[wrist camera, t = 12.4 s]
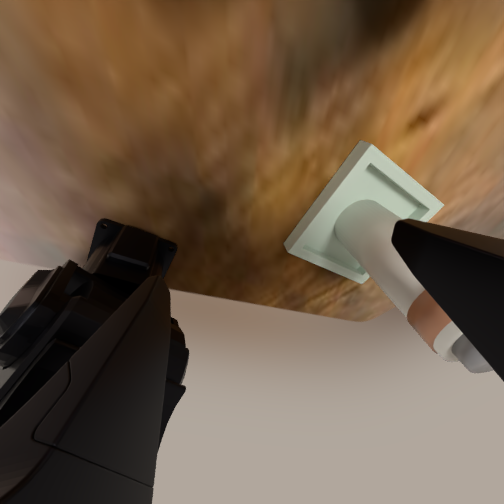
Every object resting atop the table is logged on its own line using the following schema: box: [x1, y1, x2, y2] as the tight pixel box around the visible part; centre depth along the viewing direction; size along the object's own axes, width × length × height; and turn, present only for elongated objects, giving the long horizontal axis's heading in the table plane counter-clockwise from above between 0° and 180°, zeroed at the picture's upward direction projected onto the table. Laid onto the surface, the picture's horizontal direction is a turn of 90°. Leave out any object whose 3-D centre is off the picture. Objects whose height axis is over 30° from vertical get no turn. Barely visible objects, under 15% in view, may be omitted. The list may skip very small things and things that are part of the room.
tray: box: [283, 140, 444, 284], centre depth 23 cm, size 11×11×2 cm
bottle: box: [334, 199, 493, 373], centre depth 17 cm, size 5×5×14 cm
